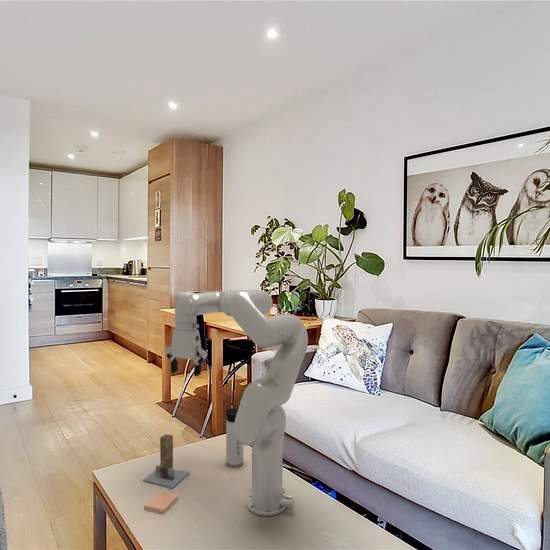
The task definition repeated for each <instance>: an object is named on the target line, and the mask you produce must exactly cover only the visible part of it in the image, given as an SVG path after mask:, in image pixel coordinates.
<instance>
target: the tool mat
mask: <svg viewBox="0 0 550 550" xmlns="http://www.w3.org/2000/svg"><path fill="white" fill-rule="evenodd" d="M173 469H174V480H169V479H165V478H161V477H157V476H156V469H155V470H154V471H152V472H151V473H149V474H148V475H147V476H145V478H143V479H142V482H144V483H147V484H153V485H155V484H156V486H159V485H160V487H163V486H164V487H165V488H167V487H169V489H171V488H172V490H173V489H174V488H176V487H177V486H178V485H179V484H180V483H181V482H183V481H184V478H185V477H186V478H187V477H188V476H189V475H190V472H189V471H184V470H180V469H176V468H173ZM178 483H179V484H178ZM177 484H178V485H177ZM164 487H163V488H164Z"/></svg>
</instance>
